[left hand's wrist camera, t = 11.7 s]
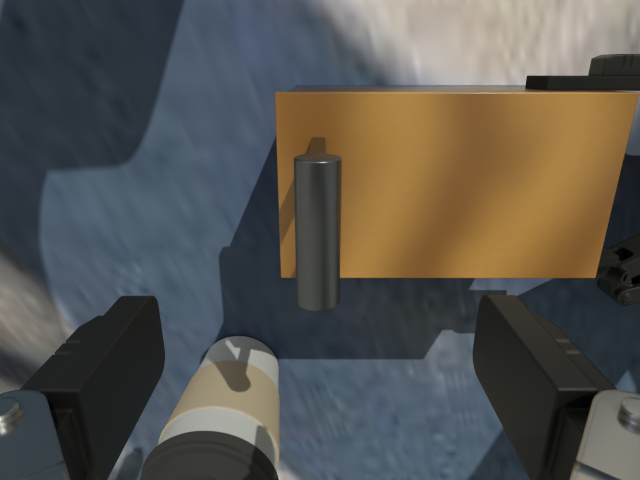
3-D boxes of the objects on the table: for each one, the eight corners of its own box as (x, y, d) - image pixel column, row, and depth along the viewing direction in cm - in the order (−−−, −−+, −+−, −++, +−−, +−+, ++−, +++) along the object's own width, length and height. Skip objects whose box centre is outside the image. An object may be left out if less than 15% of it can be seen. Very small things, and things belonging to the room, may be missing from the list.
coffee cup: (243, 422, 44) (207, 589, 30) (171, 366, 41) (95, 518, 27) (310, 369, 41) (306, 521, 27) (238, 306, 39) (193, 437, 25)
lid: (282, 272, 27) (266, 354, 19) (276, 91, 23) (253, 102, 15) (587, 272, 27) (697, 355, 19) (628, 91, 23) (785, 102, 15)
